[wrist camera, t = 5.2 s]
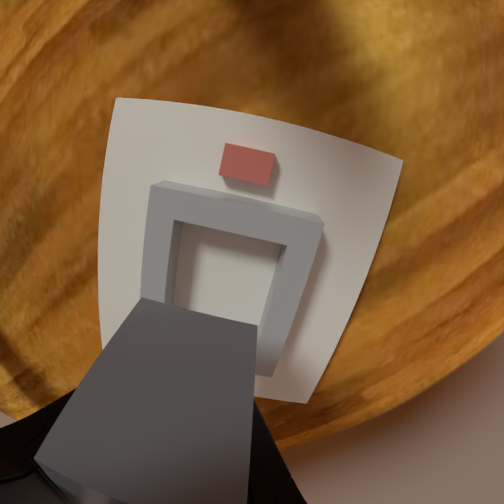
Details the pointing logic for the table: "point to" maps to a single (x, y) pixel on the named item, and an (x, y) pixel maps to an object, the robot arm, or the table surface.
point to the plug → (160, 414)
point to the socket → (241, 228)
